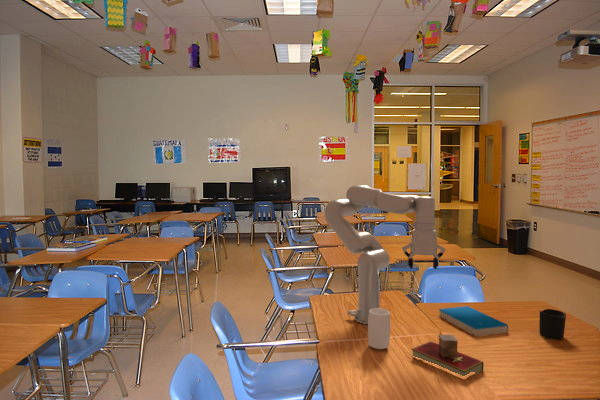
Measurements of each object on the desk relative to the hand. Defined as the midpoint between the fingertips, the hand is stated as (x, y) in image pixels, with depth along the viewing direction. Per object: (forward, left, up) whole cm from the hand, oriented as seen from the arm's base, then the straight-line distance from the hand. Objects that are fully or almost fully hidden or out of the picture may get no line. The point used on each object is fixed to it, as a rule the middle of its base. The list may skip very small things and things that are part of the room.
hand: (422, 268), depth 170 cm
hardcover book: (+3, -25, -29) cm, 39 cm away
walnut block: (+4, -26, -25) cm, 36 cm away
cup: (-19, -14, -28) cm, 37 cm away
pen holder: (+55, +5, -29) cm, 62 cm away
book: (+26, +15, -29) cm, 42 cm away
